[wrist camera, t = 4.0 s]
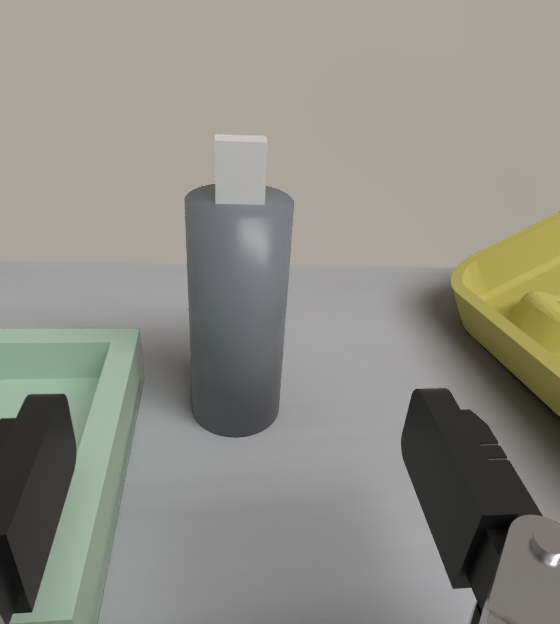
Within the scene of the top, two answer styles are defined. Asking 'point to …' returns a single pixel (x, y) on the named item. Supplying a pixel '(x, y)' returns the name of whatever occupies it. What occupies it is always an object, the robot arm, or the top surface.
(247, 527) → the top surface
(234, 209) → the grey bottle white cap
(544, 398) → the plastic component
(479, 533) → the robot arm
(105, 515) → the tray
